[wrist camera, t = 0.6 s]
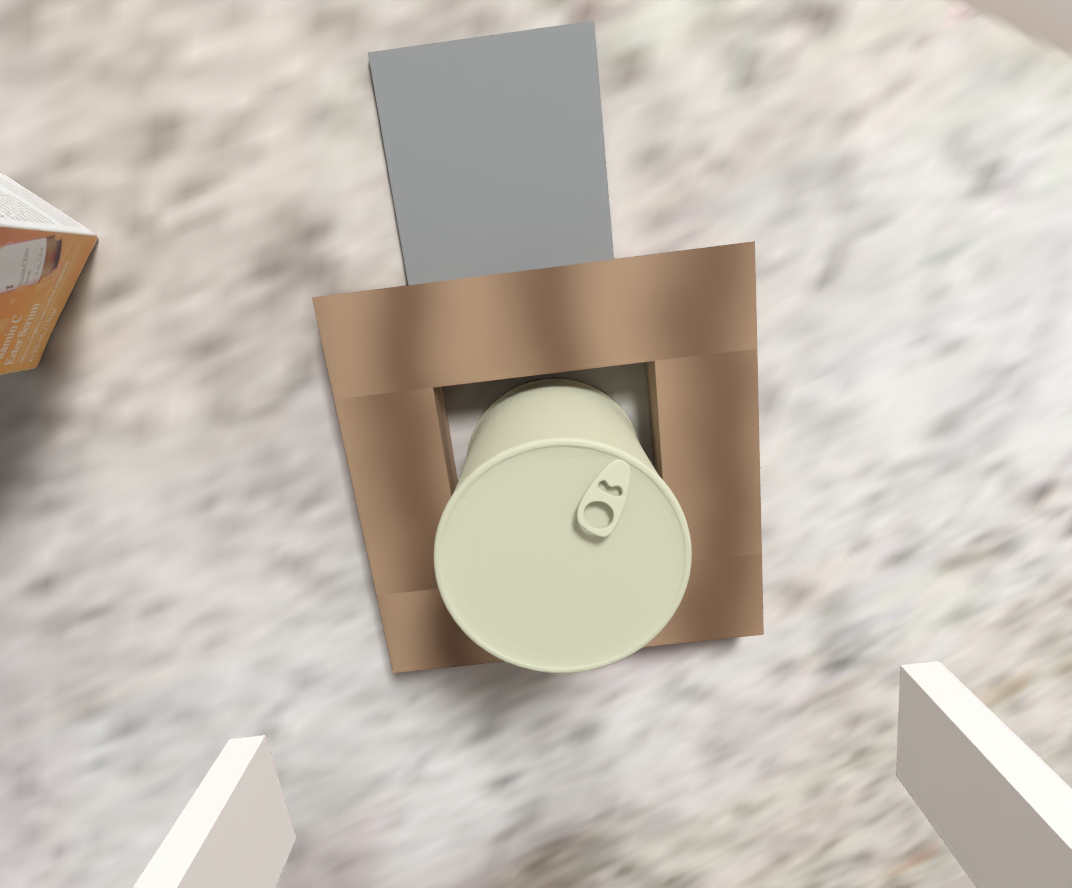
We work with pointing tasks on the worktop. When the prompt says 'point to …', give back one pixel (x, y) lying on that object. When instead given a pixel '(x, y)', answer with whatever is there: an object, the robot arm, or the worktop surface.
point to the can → (560, 533)
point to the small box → (34, 272)
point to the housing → (542, 348)
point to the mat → (495, 152)
